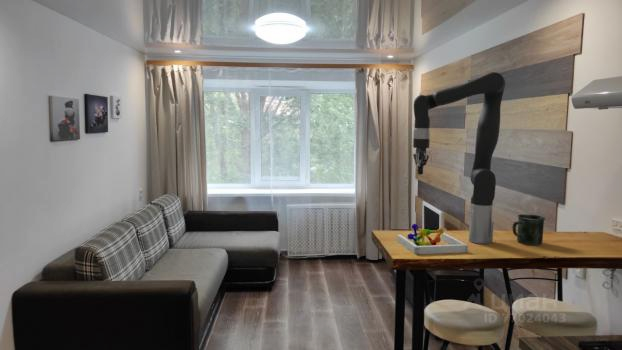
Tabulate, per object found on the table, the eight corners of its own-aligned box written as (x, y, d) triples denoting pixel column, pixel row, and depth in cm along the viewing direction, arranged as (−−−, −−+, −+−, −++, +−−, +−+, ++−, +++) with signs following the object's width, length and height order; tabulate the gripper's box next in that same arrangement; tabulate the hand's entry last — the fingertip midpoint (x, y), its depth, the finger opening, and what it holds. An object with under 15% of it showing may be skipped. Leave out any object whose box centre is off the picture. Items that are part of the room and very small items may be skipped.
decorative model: (437, 242, 181) (404, 228, 188) (433, 259, 185) (400, 245, 192) (448, 229, 190) (416, 216, 198) (443, 245, 194) (412, 232, 202)
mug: (549, 245, 193) (551, 218, 192) (520, 247, 190) (522, 219, 189) (531, 239, 204) (533, 213, 202) (504, 240, 201) (505, 215, 199)
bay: (444, 239, 201) (444, 233, 201) (467, 252, 181) (468, 245, 180) (397, 241, 197) (397, 234, 197) (415, 254, 177) (415, 247, 177)
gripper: (435, 138, 201) (433, 175, 203) (423, 137, 214) (421, 172, 216) (419, 138, 200) (418, 175, 202) (408, 137, 213) (407, 172, 215)
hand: (420, 174), depth 209 cm, fingers closed
